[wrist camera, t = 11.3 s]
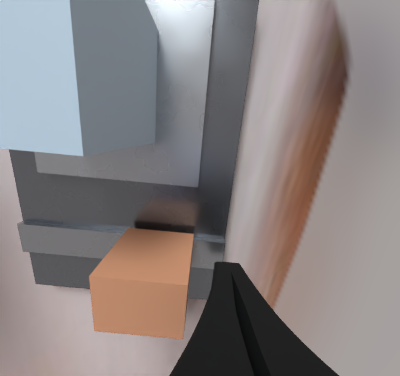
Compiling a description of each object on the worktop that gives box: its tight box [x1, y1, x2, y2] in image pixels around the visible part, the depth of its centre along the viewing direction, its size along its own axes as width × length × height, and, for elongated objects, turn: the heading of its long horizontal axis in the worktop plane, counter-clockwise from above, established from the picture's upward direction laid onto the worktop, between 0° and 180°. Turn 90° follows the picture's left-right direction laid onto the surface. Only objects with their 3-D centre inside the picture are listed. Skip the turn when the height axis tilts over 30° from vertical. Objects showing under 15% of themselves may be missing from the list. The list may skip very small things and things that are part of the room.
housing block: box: [0, 0, 158, 156], centre depth 6 cm, size 5×4×6 cm
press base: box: [9, 0, 259, 300], centre depth 11 cm, size 18×13×2 cm
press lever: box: [89, 228, 194, 339], centre depth 10 cm, size 3×4×4 cm
